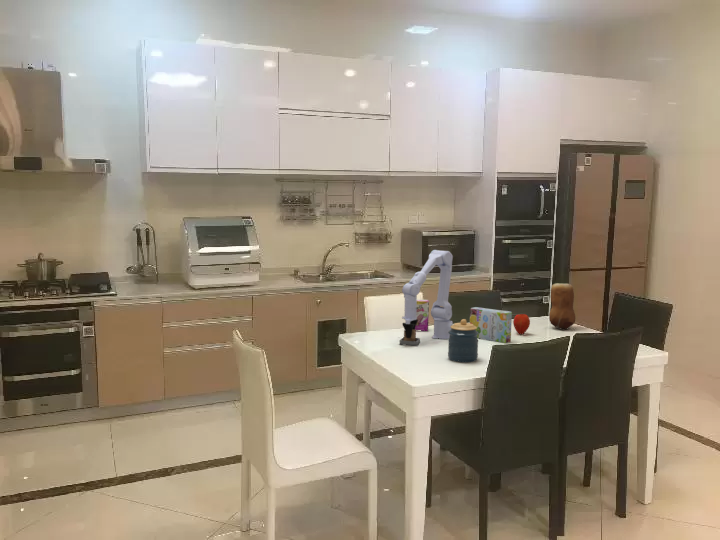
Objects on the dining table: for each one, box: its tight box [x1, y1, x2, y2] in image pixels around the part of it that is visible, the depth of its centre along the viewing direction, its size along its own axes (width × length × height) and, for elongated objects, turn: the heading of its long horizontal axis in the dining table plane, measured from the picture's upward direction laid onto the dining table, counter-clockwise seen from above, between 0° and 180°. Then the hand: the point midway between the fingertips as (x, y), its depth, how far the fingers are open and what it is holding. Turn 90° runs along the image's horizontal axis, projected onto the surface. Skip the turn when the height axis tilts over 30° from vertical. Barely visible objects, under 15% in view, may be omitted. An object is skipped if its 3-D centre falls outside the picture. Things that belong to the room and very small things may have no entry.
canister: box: [447, 318, 479, 363], centre depth 266 cm, size 13×13×18 cm
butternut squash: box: [548, 282, 576, 330], centre depth 331 cm, size 14×13×25 cm
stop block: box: [403, 329, 417, 341], centre depth 295 cm, size 5×4×6 cm
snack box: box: [469, 306, 513, 344], centre depth 305 cm, size 21×6×15 cm, turn 47°
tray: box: [399, 336, 421, 347], centre depth 295 cm, size 8×8×2 cm
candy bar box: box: [415, 299, 430, 332], centre depth 325 cm, size 11×5×16 cm, turn 84°
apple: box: [512, 313, 531, 335], centre depth 317 cm, size 9×8×11 cm
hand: (410, 336), depth 295 cm, fingers open, 7 cm apart
